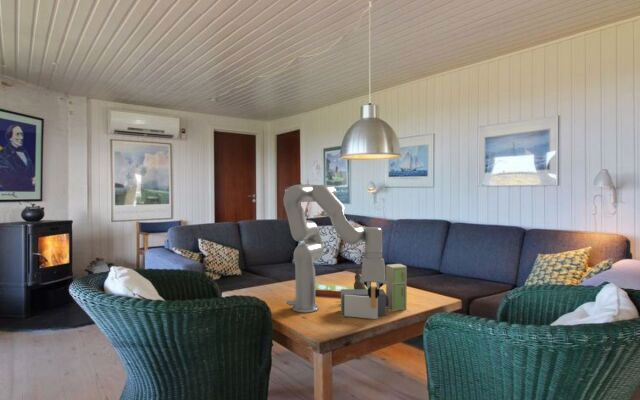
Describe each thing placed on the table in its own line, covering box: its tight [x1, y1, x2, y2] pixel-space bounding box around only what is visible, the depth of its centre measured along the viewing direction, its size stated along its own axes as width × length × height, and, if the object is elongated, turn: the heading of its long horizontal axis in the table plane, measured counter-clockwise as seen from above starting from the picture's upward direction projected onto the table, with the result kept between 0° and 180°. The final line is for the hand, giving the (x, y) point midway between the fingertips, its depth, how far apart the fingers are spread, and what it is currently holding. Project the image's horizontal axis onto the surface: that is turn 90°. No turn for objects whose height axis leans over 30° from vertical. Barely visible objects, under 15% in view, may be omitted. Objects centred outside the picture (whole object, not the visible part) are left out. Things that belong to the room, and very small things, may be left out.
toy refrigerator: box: [385, 263, 408, 312], centre depth 193 cm, size 8×7×21 cm
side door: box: [343, 285, 379, 320], centre depth 178 cm, size 15×3×14 cm, turn 73°
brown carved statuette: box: [353, 269, 367, 289], centre depth 205 cm, size 12×6×18 cm, turn 34°
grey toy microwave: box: [340, 288, 389, 317], centre depth 187 cm, size 22×9×11 cm, turn 91°
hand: (373, 296), depth 176 cm, fingers closed on side door, 2 cm apart
